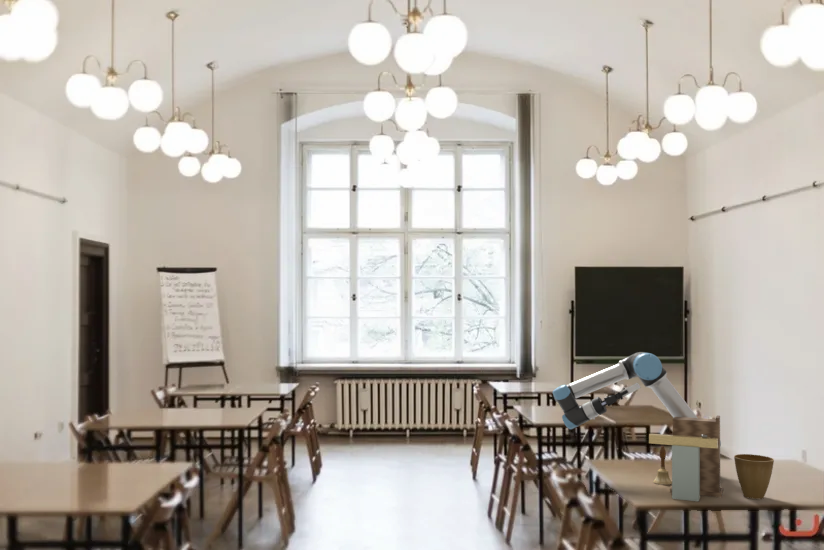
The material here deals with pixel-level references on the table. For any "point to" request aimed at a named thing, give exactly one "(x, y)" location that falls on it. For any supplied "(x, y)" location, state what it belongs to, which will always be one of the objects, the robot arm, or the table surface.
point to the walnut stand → (703, 451)
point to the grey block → (685, 473)
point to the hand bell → (662, 470)
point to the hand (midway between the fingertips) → (637, 386)
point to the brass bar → (684, 440)
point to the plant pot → (753, 474)
